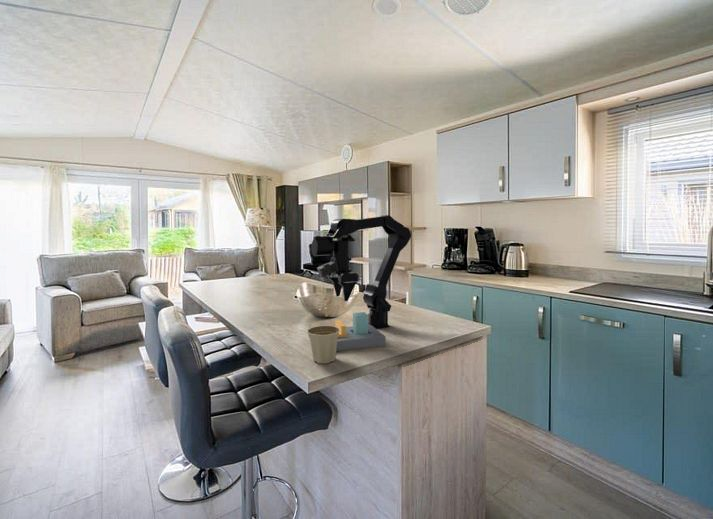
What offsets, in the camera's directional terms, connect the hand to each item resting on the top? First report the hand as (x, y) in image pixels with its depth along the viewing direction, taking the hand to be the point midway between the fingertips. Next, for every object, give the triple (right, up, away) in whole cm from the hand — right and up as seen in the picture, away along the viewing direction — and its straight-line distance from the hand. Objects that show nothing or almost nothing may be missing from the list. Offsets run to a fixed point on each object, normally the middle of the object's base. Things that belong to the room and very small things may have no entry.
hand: (341, 298), depth 129 cm
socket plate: (+3, -13, -11) cm, 17 cm away
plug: (+6, -13, -9) cm, 17 cm away
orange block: (-3, -10, -13) cm, 17 cm away
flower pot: (-4, -15, -26) cm, 30 cm away
